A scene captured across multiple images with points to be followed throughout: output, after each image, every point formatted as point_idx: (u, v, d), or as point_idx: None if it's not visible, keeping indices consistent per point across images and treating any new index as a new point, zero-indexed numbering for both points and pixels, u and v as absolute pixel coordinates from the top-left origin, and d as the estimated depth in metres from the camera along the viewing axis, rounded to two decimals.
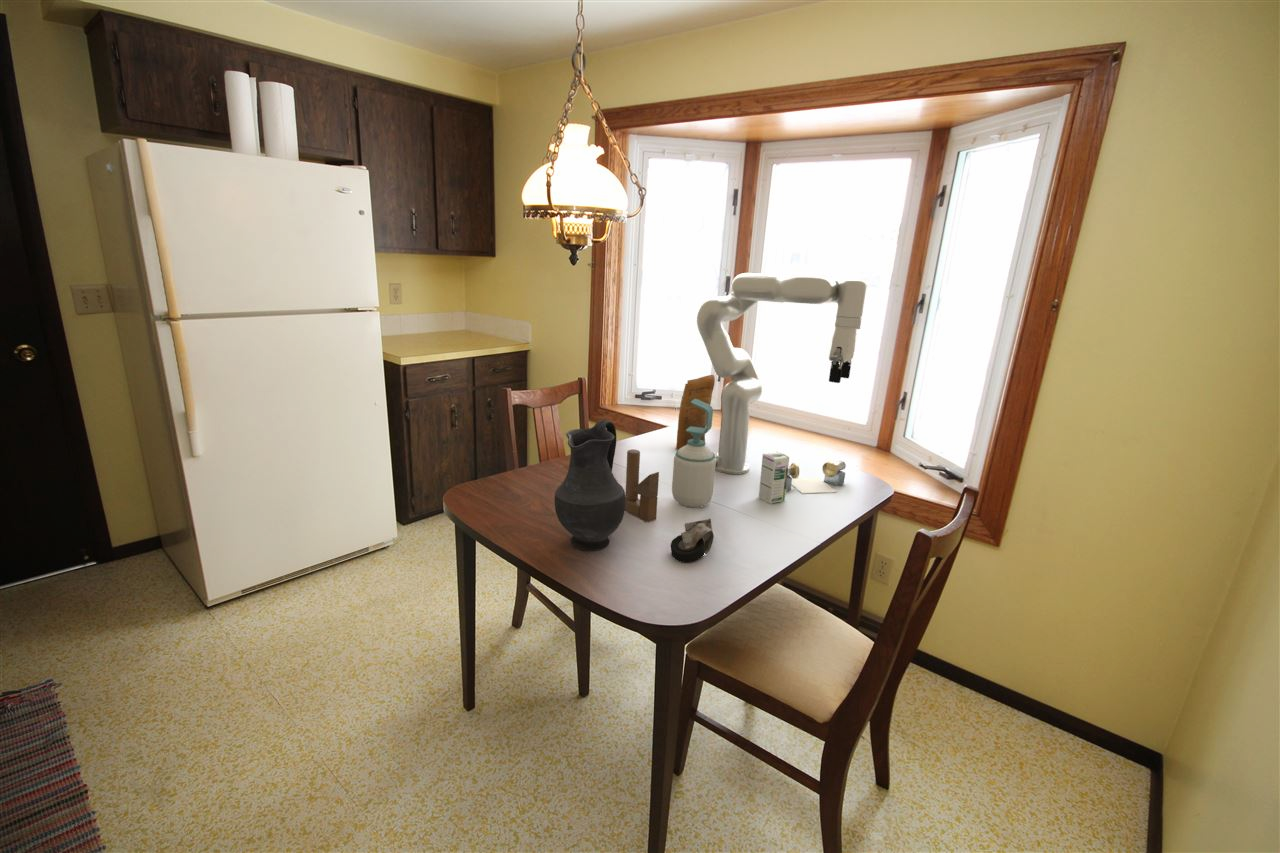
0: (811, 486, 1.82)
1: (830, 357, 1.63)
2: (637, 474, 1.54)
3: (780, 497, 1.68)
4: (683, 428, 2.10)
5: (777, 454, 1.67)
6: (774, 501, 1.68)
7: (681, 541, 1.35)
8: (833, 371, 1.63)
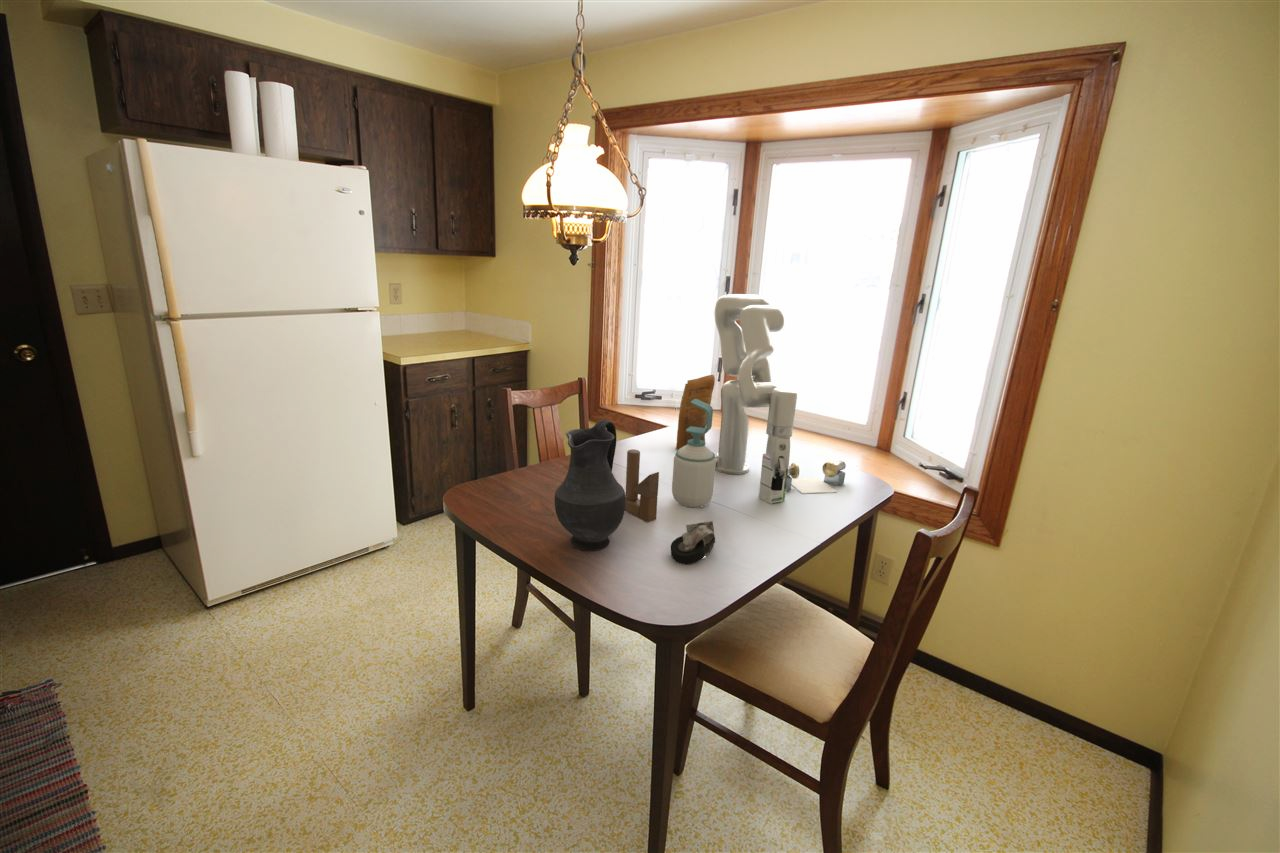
0: (811, 486, 1.82)
1: None
2: (637, 474, 1.54)
3: (780, 497, 1.68)
4: (683, 428, 2.10)
5: None
6: (774, 501, 1.68)
7: (681, 542, 1.35)
8: None
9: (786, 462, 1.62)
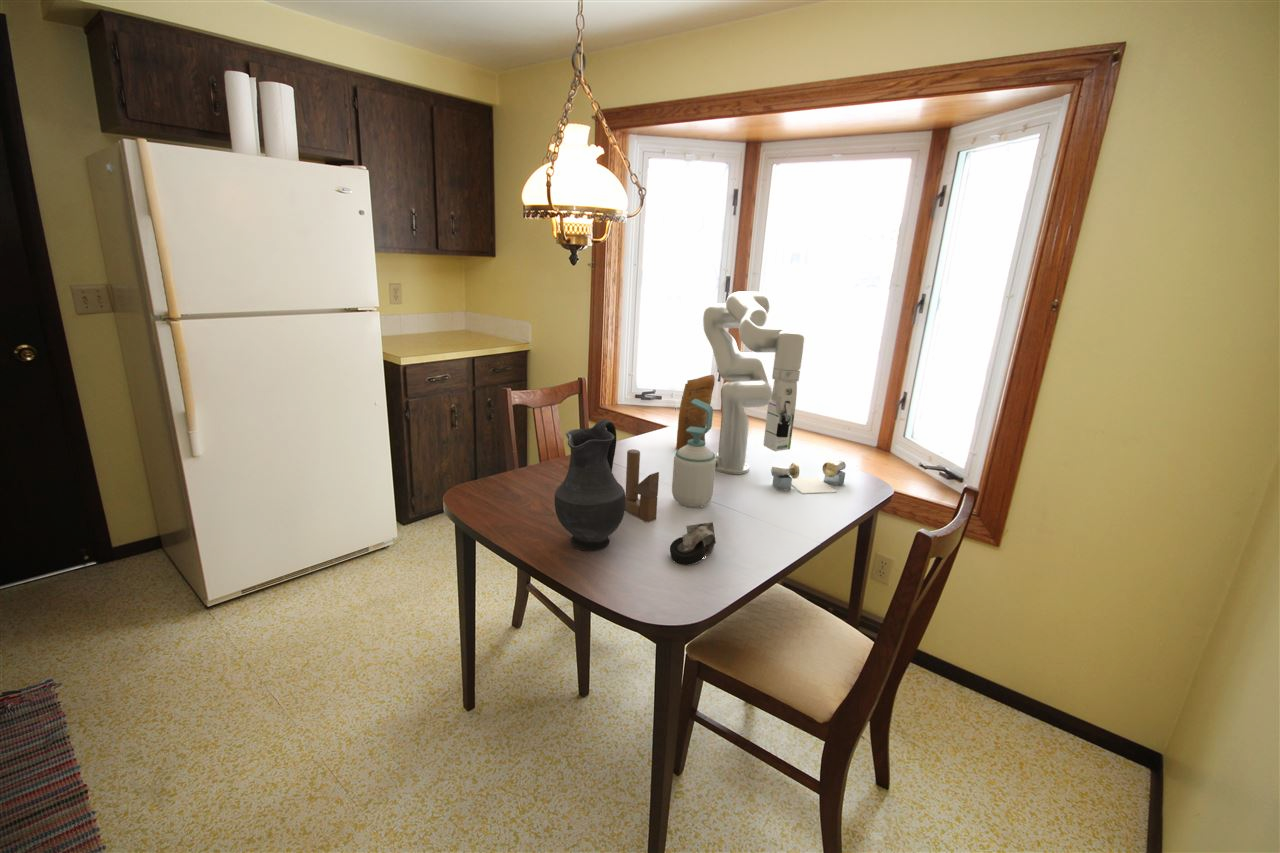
0: (811, 486, 1.82)
1: None
2: (637, 474, 1.54)
3: (785, 445, 1.64)
4: (683, 428, 2.10)
5: None
6: (779, 449, 1.63)
7: (681, 543, 1.34)
8: None
9: (792, 407, 1.58)
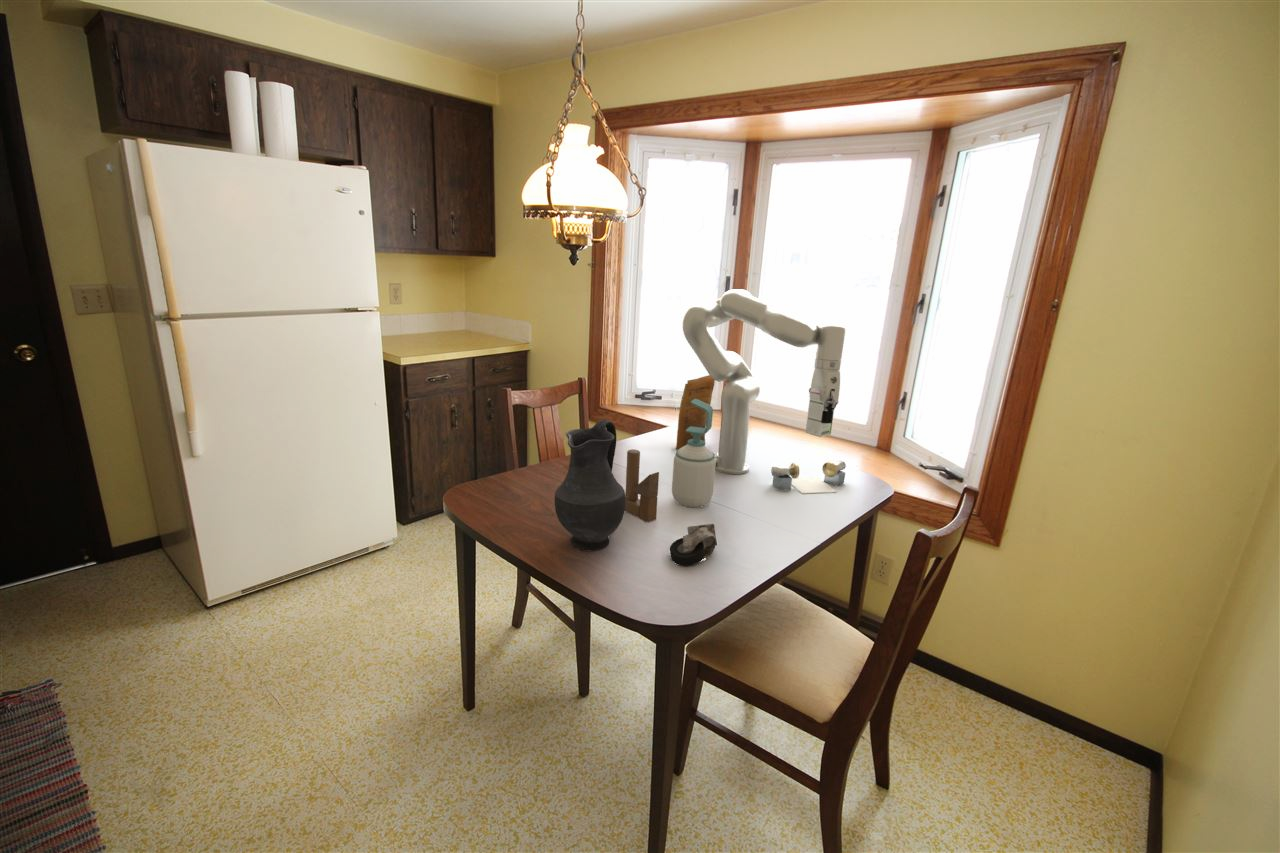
0: (811, 486, 1.82)
1: None
2: (637, 474, 1.54)
3: (827, 431, 1.76)
4: (683, 428, 2.10)
5: None
6: (823, 434, 1.75)
7: (681, 544, 1.34)
8: None
9: (837, 395, 1.69)
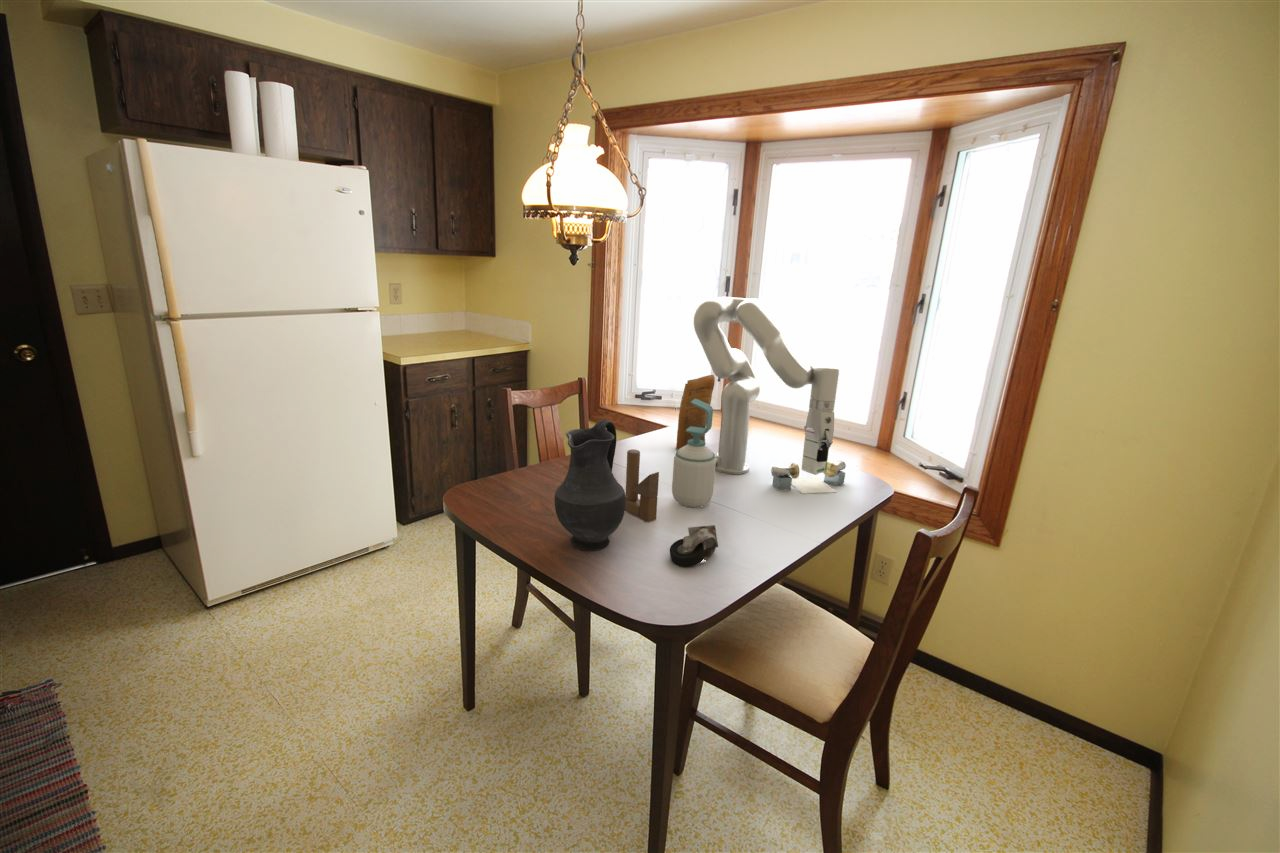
0: (811, 486, 1.82)
1: None
2: (637, 474, 1.54)
3: (823, 468, 1.79)
4: (683, 428, 2.10)
5: None
6: (818, 472, 1.78)
7: (681, 545, 1.34)
8: None
9: (831, 434, 1.73)
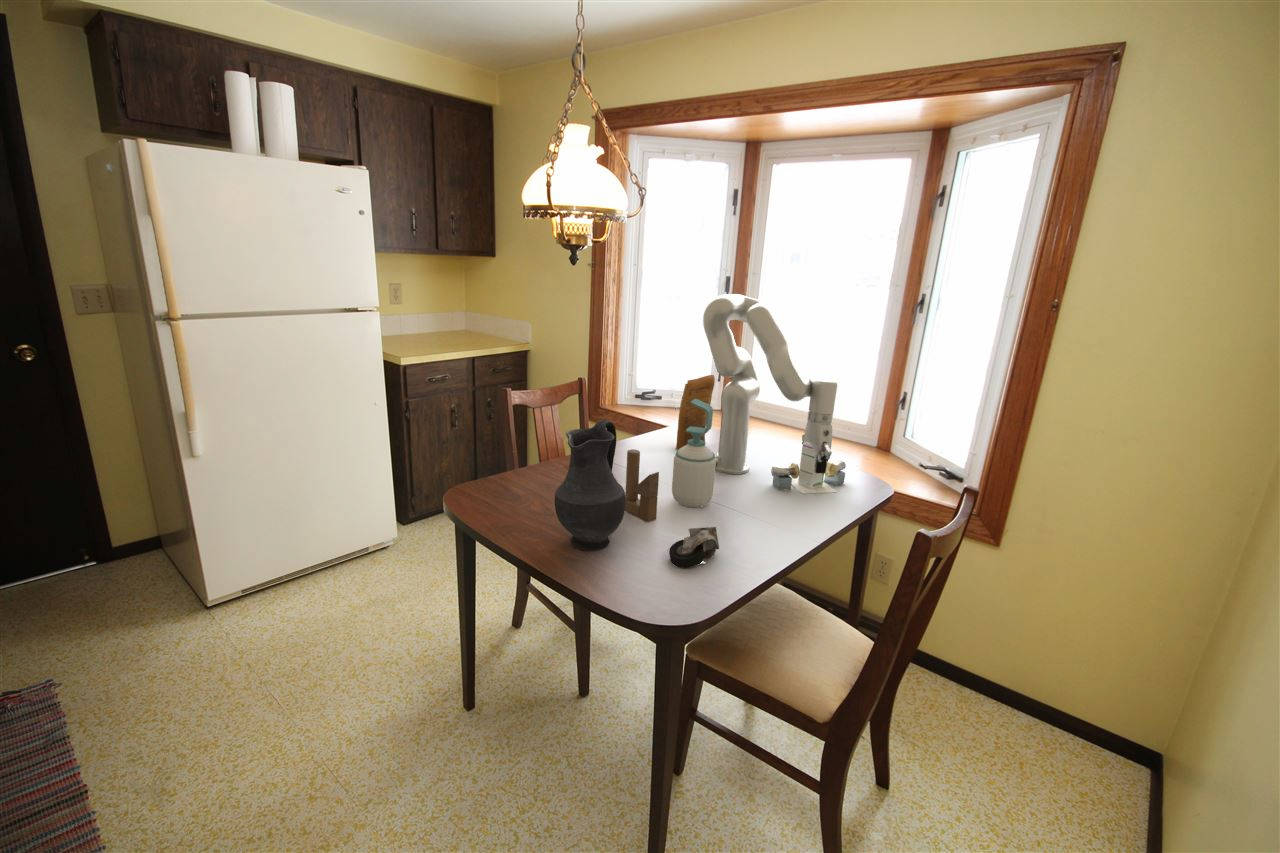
0: None
1: None
2: (637, 474, 1.54)
3: (819, 483, 1.81)
4: (683, 428, 2.10)
5: None
6: (815, 486, 1.80)
7: (681, 546, 1.33)
8: None
9: (829, 447, 1.74)
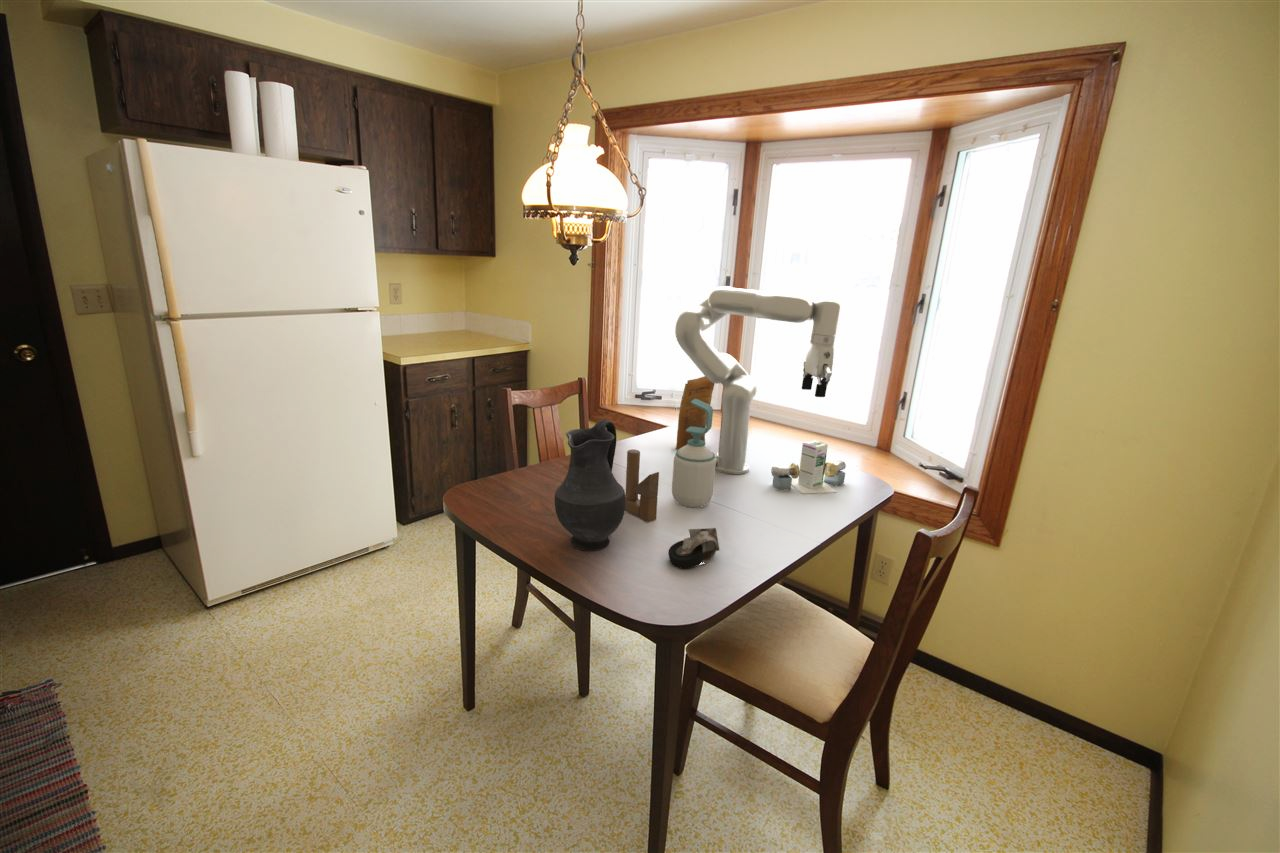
0: None
1: None
2: (637, 474, 1.54)
3: (819, 483, 1.81)
4: (683, 428, 2.10)
5: (816, 442, 1.79)
6: (815, 486, 1.80)
7: (681, 546, 1.33)
8: None
9: (829, 370, 1.72)
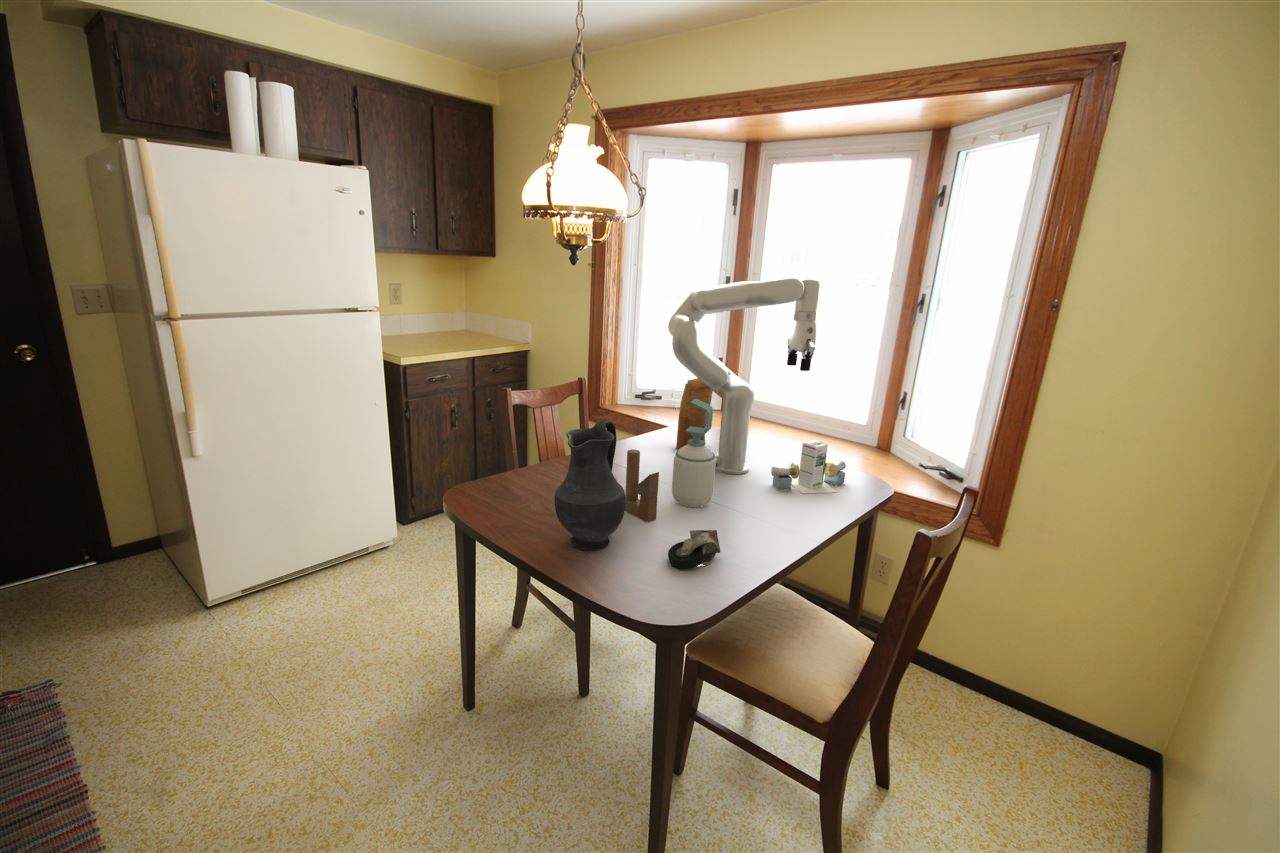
0: None
1: None
2: (637, 474, 1.54)
3: (819, 483, 1.81)
4: (683, 428, 2.10)
5: (816, 442, 1.79)
6: (815, 486, 1.80)
7: (681, 547, 1.32)
8: None
9: None
